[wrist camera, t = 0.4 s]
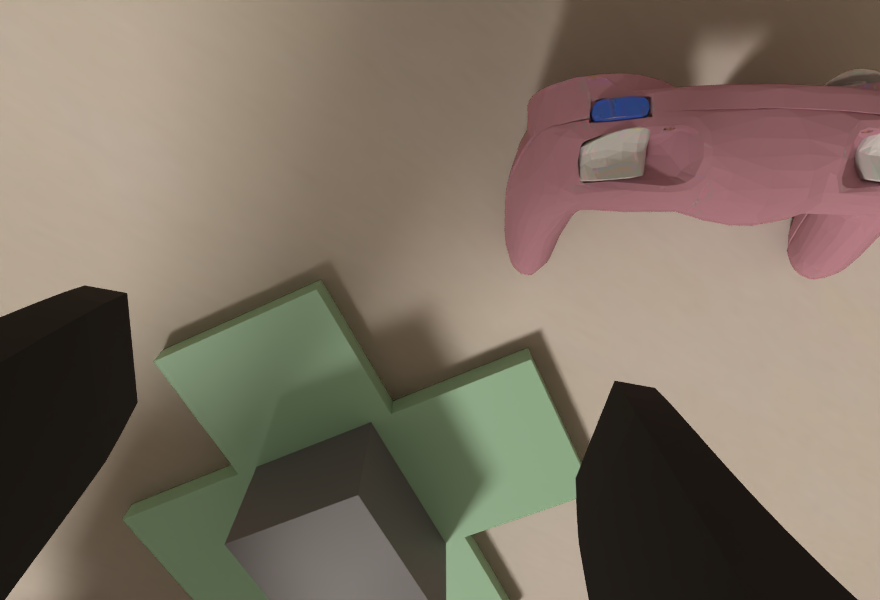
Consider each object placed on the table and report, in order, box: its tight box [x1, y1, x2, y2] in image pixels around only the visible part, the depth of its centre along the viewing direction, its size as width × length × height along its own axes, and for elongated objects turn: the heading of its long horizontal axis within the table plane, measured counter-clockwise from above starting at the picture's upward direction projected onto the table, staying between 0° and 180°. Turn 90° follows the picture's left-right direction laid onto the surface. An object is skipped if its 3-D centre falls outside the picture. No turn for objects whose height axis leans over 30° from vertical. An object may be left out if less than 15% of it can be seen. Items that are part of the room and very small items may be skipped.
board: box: [122, 280, 581, 600], centre depth 21 cm, size 16×16×4 cm
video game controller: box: [505, 69, 880, 279], centre depth 16 cm, size 10×5×7 cm, turn 89°
